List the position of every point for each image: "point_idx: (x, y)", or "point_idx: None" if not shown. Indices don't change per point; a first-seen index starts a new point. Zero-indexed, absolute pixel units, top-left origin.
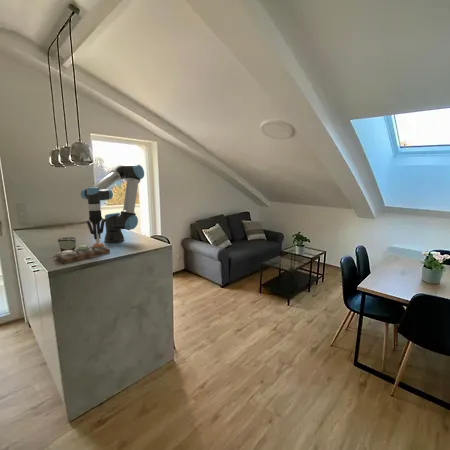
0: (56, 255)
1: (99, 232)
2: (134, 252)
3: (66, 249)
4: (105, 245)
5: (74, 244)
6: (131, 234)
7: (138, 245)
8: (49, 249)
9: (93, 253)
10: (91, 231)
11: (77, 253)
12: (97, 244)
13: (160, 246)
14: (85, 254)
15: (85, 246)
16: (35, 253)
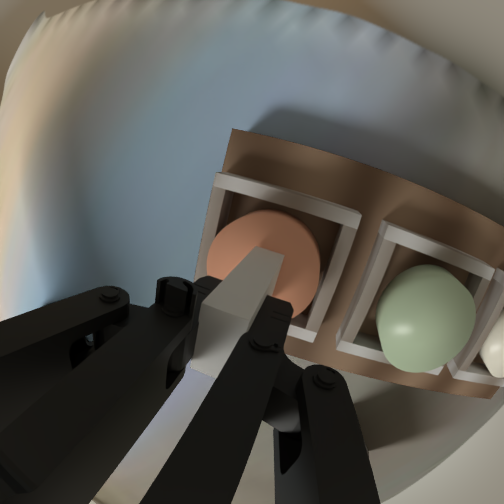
0: (496, 388)
1: (162, 322)
2: (152, 8)
3: None
4: (208, 210)
5: None
6: None
7: (43, 142)
8: None
9: (404, 179)
10: (361, 433)
11: None
12: (294, 247)
13: (39, 35)
14: (469, 208)
15: (442, 288)
16: (393, 495)
